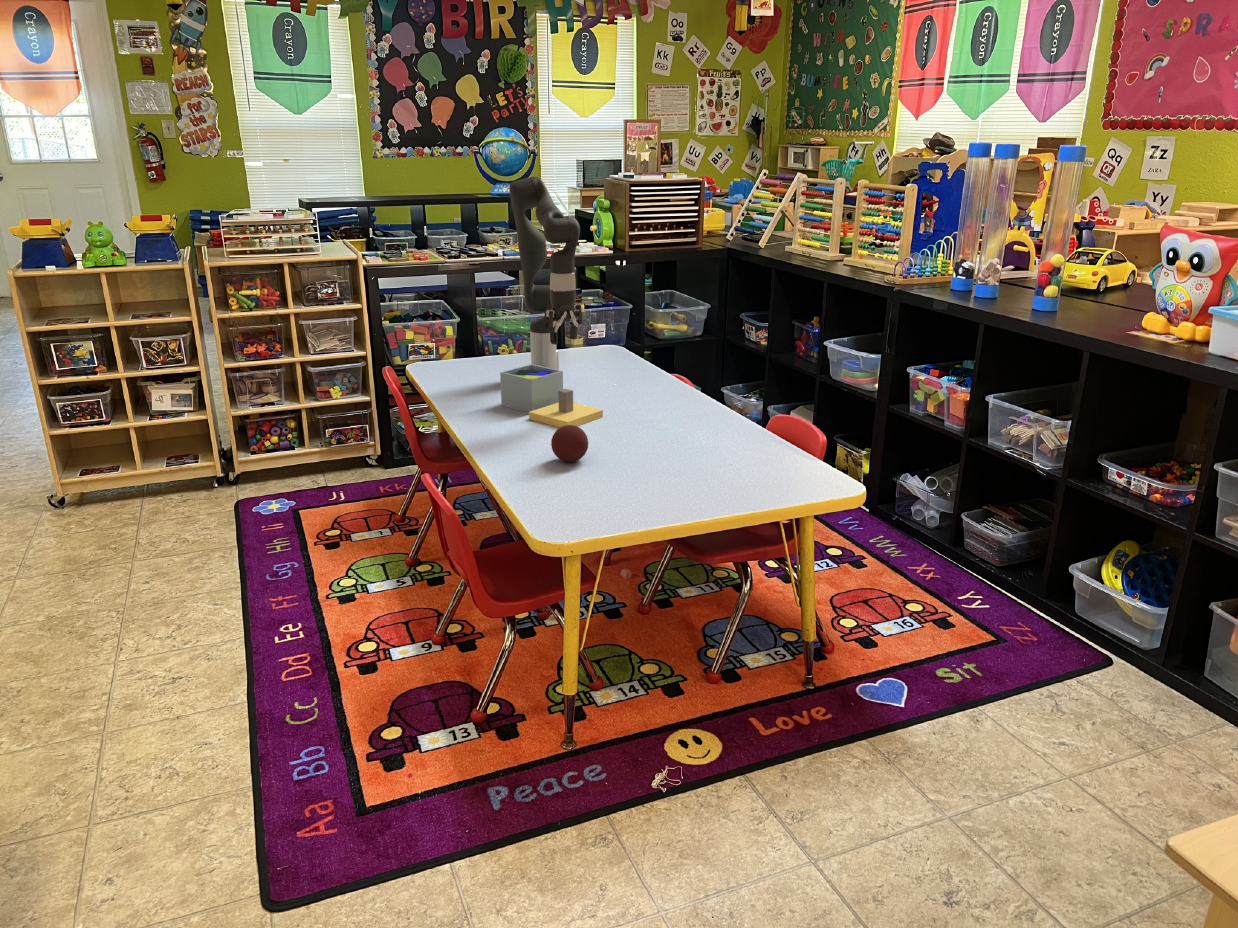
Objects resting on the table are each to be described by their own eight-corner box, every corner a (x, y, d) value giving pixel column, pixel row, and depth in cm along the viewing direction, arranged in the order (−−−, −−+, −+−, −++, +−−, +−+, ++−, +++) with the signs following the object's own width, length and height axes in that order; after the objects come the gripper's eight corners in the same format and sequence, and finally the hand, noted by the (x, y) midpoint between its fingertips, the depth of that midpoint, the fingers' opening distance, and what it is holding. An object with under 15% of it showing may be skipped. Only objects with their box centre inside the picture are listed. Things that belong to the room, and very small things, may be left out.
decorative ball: (595, 463, 241) (595, 427, 238) (562, 469, 236) (562, 433, 233) (577, 452, 249) (576, 418, 246) (545, 458, 244) (544, 423, 241)
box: (532, 396, 302) (531, 364, 299) (563, 403, 294) (562, 371, 290) (501, 405, 292) (500, 372, 288) (532, 413, 284) (531, 379, 280)
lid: (564, 407, 290) (564, 381, 287) (602, 417, 280) (602, 389, 277) (529, 419, 278) (528, 391, 275) (567, 429, 269) (567, 401, 266)
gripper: (569, 283, 273) (570, 336, 279) (537, 289, 263) (538, 344, 268) (588, 286, 269) (588, 339, 274) (555, 292, 258) (557, 347, 264)
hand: (563, 341), depth 271 cm, fingers open, 8 cm apart
